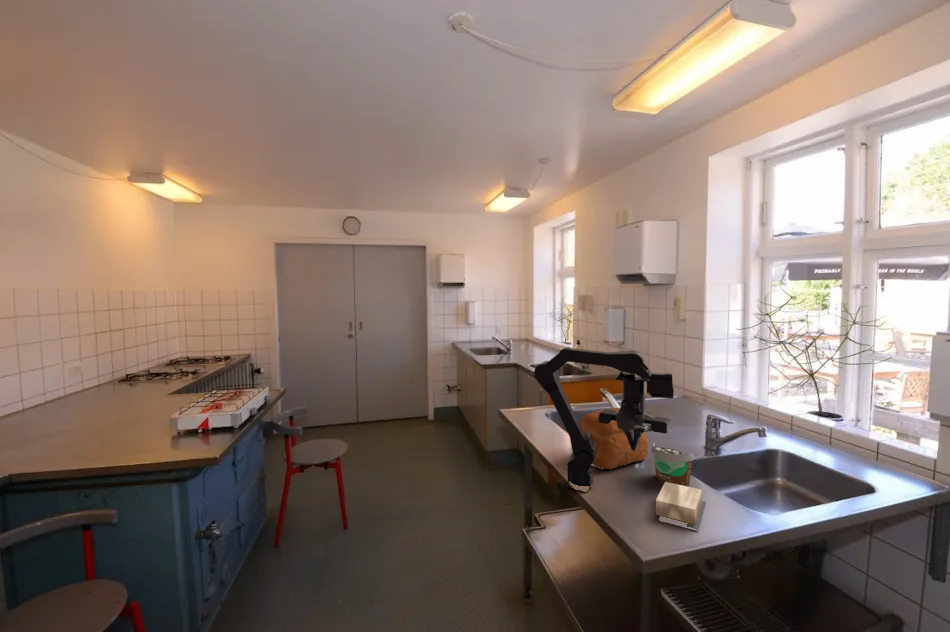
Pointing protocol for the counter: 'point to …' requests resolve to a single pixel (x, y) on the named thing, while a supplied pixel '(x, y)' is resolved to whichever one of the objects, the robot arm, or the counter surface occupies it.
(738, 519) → the counter surface
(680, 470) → the food container
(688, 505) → the beige flat block
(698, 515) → the rubber mat
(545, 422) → the counter surface
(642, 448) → the bread
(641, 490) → the counter surface
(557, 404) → the robot arm
